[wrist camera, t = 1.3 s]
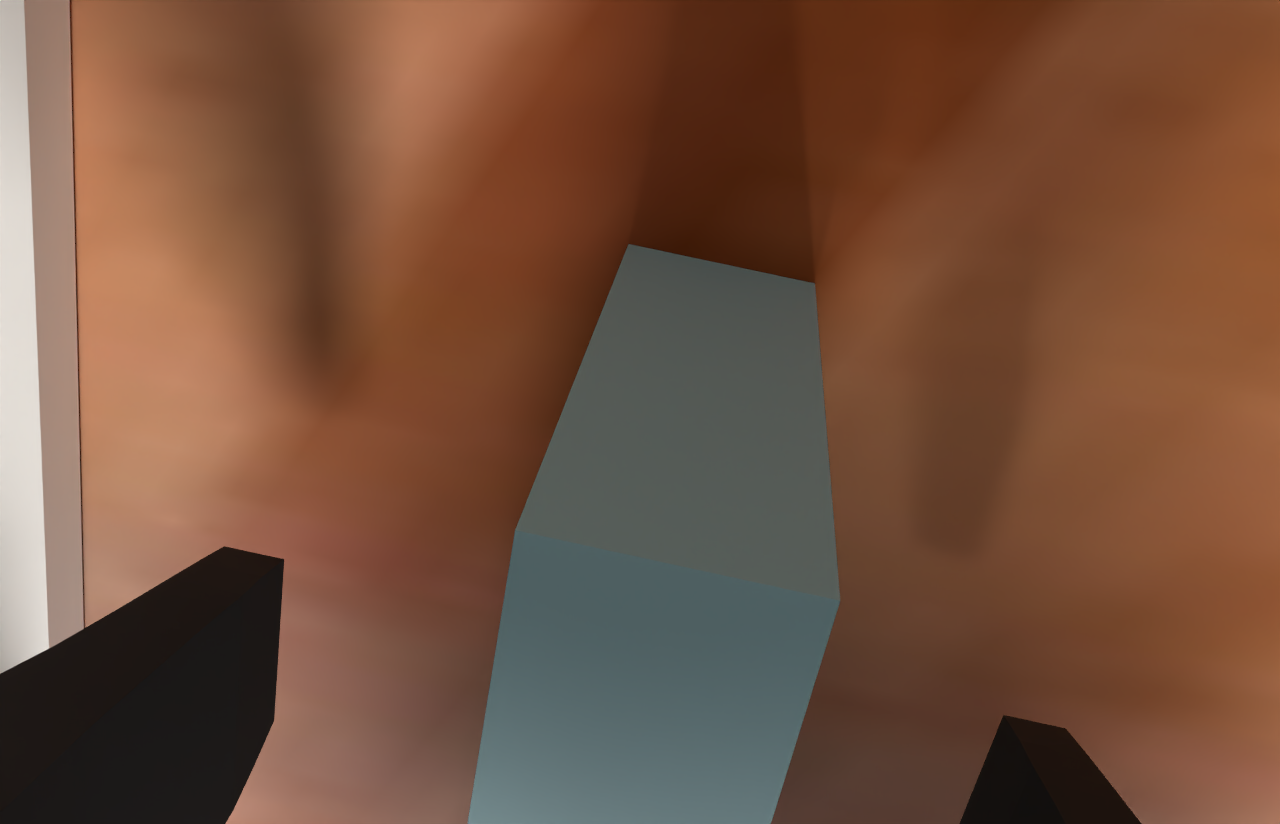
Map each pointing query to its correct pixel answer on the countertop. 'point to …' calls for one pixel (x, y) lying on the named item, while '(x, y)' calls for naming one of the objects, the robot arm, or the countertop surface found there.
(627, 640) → the rectangular block
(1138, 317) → the countertop surface
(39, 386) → the track
